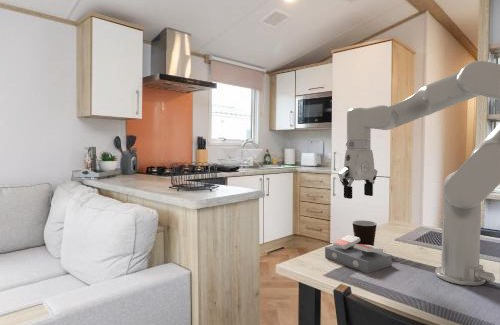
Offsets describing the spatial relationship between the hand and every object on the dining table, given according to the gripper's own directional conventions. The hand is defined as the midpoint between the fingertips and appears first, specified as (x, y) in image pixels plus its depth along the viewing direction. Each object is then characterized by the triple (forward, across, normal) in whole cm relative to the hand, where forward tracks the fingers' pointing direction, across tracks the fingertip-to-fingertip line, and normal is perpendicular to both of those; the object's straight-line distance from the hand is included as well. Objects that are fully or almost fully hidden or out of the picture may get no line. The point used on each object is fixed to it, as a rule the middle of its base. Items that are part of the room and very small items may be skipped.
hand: (358, 196), depth 114 cm
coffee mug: (+22, +13, +9) cm, 27 cm away
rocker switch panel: (+22, 0, 0) cm, 22 cm away
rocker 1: (+17, 0, +5) cm, 18 cm away
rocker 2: (+17, 0, -4) cm, 18 cm away
